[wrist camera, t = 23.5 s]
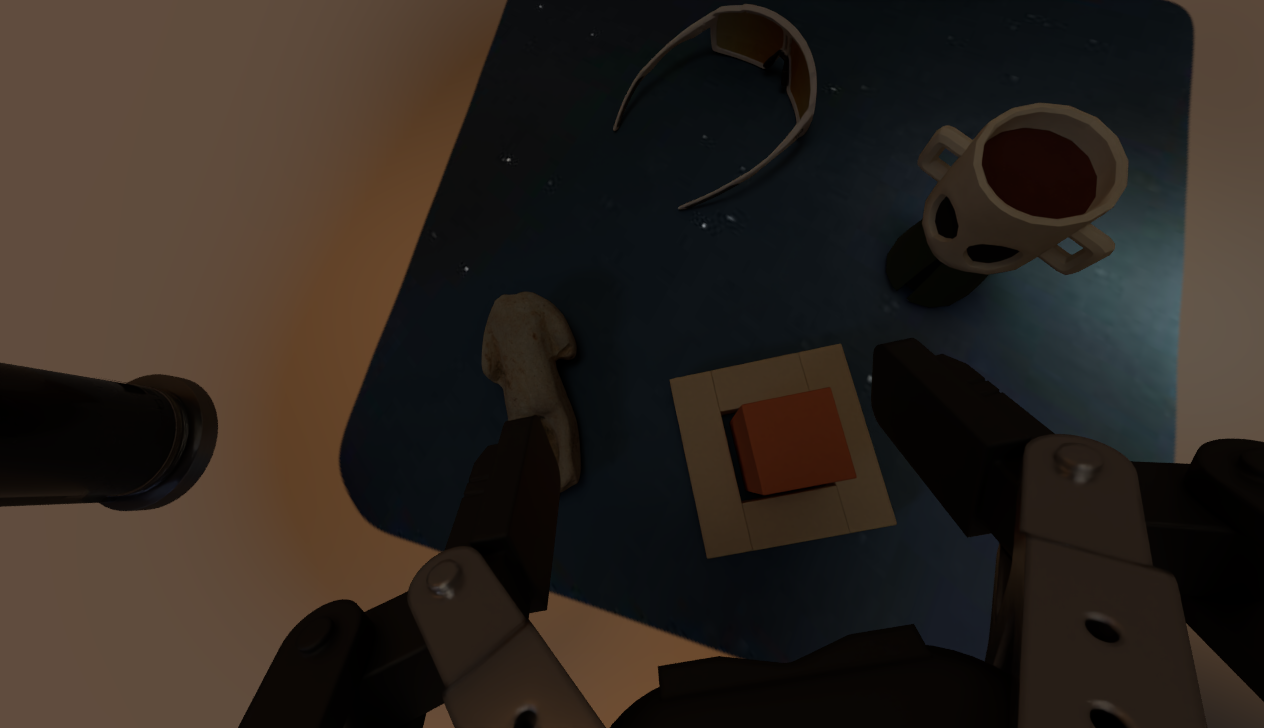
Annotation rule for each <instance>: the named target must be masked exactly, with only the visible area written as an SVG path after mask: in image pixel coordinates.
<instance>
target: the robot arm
mask: <svg viewBox="0 0 1264 728" xmlns="http://www.w3.org/2000/svg"><path fill="white" fill-rule="evenodd" d="M135 385H136V384H134V385H130V383H129V384H124V383H118V382H112V381H106V380H100V379H95V378H89V377H83V376H77V375H70V374H65V373H58V372H53V371H47V370H40V369H34V368H29V367H23V366H17V365H11V364H5V363H0V507H1V506H26V505H49V504H74V503H100V502H113V501H115V500H116V499H117V498H118V497H120V496H132V495H138V494H141V493H144V492H146V491H148V490H150V489H152V488H154V487H155V486H157V485H158V484H160V483H161V482H162V481H163V480H164V479H165V478H166V477H167V476H168V475H169V474H170V473H171V472H172V471H173V469H174V468H175V467H176V465H177V464H178V462H179V460H180V458H181V456H182V454H183V452H184V449H185V446H186V443H187V438H188V429H189V427H188V417H187V413H186V410H185V408H184V406H183V404H182V402H181V401H180V400H179V399H178V398H177V397H176V396H175V395H174V394H173V393H171V392H169V391H167V390H164V389H161V388H155V387H149V386H141V385H140V386H135ZM871 402H872V408H873V412H874V415H875V418H876V420H877V422H878V424H879V425H880V427H881V428H882V429H883V430H884V432H885V433H886V434H887V436H888V437H889V438H890V439H891V441H892V442H893V443H894V444H895V446H896V447H897V448H898V450H899V451H900V452H901V453H902V455H903V456H904V457H905V459H906V460H907V461H908V462H909V464H910V465H911V466H912V467H913V469H914V470H915V471H916V473H917V474H918V475H919V476H920V478H921V479H922V480H923V481H924V483H925V484H926V485H927V487H928V488H929V489H930V490H931V492H932V493H933V494H934V496H935V497H936V498H937V499H938V501H939V502H940V503H941V504H942V506H943V507H944V508H945V510H946V511H947V512H948V513H949V515H950V516H951V517H952V519H953V520H954V521H955V522H956V524H957V525H958V526H959V527H960V529H961V530H962V531H963V533H964V534H965V535H966V536H967V537H973V536H978V535H984V534H990V533H992V534H993V536H994V537H995V538H996V539H997V540H998V541H999V547H998V551H997V556H996V567H995V579H994V590H993V601H992V612H991V623H990V633H989V641H988V647H987V652H986V657H985V662H984V661H982V660H980V659H977V658H975V657H973V656H970V655H967V654H963V653H960V652H957V651H954V650H950V649H945V648H940V647H936V646H929V645H925V643H924V641H923V639H922V638H921V636H920V634H919V632H918V631H917V629H916V627H915V625H914V624H911V625H905V626H899V627H892V628H886V629H880V630H874V631H868V632H862V633H856V634H850V635H847V636H845V637H843V638H841V639H839V640H837V641H835V642H833V643H831V644H829V645H827V646H825V647H823V648H821V649H819V650H817V651H814V652H812V653H810V654H808V655H806V656H804V657H802V658H800V659H798V660H796V661H793V662H790V663H777V662H768V661H758V660H749V659H740V658H730V657H721V656H718V657H711V658H706V659H699V660H694V661H687V662H681V663H675V664H669V665H664V666H658V673H659V685H660V687H658V688H656V689H654V690H652V691H651V692H649V693H647V694H646V695H644V696H643V697H641V698H640V699H638V700H637V701H635V702H634V703H633V704H632V705H631V706H630V707H629V708H628V709H626V710H625V711H624V712H623V713H622V714H621V715H620V716H619V718H618V719H617V720H616V721H615V722H614V723H613V724H612V725H611V727H610V728H1207V724H1206V719H1205V715H1204V709H1203V705H1202V699H1201V695H1200V690H1199V685H1198V680H1197V675H1196V670H1195V665H1194V660H1193V656H1192V651H1191V646H1190V641H1189V636H1188V631H1187V626H1186V623H1187V624H1188V625H1189V626H1190V627H1191V628H1192V629H1193V630H1194V631H1195V632H1196V633H1197V635H1199V637H1201V638H1202V640H1203V641H1204V642H1205V643H1206V644H1207V645H1208V646H1209V647H1210V648H1211V649H1212V650H1213V651H1214V652H1215V653H1216V654H1217V655H1218V656H1219V657H1220V658H1221V659H1222V660H1223V661H1224V662H1225V663H1226V664H1227V665H1228V666H1229V667H1230V668H1231V669H1232V670H1233V671H1234V672H1235V673H1236V674H1237V675H1238V676H1239V677H1240V678H1241V679H1242V680H1243V681H1244V682H1245V683H1246V684H1247V685H1248V686H1249V687H1250V688H1251V689H1252V690H1253V691H1254V692H1255V693H1256V694H1257V695H1258V696H1259V698H1261V699H1262V701H1264V442H1260V441H1254V440H1246V439H1218V440H1213V441H1210V442H1207V443H1205V444H1203V445H1202V446H1201V447H1200V448H1199V449H1198V450H1197V452H1196V454H1195V456H1194V458H1193V460H1192V462H1191V464H1180V463H1155V462H1133V461H1129V460H1128V459H1127V458H1126V457H1125V456H1124V455H1122V454H1121V453H1120V452H1118V451H1117V450H1115V449H1113V448H1111V447H1109V446H1107V445H1105V444H1103V443H1100V442H1098V441H1095V440H1092V439H1088V438H1085V437H1080V436H1075V435H1067V434H1054V433H1053V432H1052V431H1051V430H1049V429H1048V428H1047V427H1045V426H1044V425H1043V424H1042V423H1040V422H1039V421H1038V420H1037V419H1035V418H1034V417H1033V416H1032V415H1030V414H1029V413H1028V412H1027V411H1025V410H1024V409H1023V408H1022V407H1020V406H1019V405H1018V404H1017V403H1015V402H1014V401H1013V400H1012V399H1010V398H1009V397H1008V396H1007V395H1005V394H1004V393H1000V392H999V389H998V388H997V387H995V386H994V385H993V384H992V383H990V382H989V381H985V378H984V377H983V376H981V375H980V374H979V373H978V372H976V371H975V370H974V369H973V368H971V367H970V366H969V365H968V364H966V363H963V362H961V361H958V360H956V359H953V358H951V357H949V356H946V355H944V354H940V355H934V354H933V353H932V352H930V351H929V350H928V349H927V348H926V347H925V346H923V345H922V344H921V343H920V342H919V341H917V340H916V339H914V338H909V339H904V340H899V341H894V342H889V343H885V344H880V345H877V346H876V347H875V349H874V354H873V373H872V395H871ZM560 489H561V478H560V471H559V466H558V463H557V460H556V457H555V455H554V452H553V450H552V447H551V445H550V442H549V440H548V437H547V435H546V432H545V430H544V427H543V425H542V423H541V420H540V419H539V417H538V416H537V415H534V416H529V417H524V418H519V419H514V420H510V421H506V422H505V423H504V426H503V429H502V432H501V436H500V439H499V443H498V444H495V445H490V446H488V447H487V448H486V449H485V450H484V452H483V453H482V454H481V455H480V457H479V458H478V459H477V460H476V462H475V463H474V466H473V469H472V472H471V475H470V478H469V483H468V484H467V486H466V489H465V492H464V498H462V501H461V504H460V507H459V510H458V513H457V516H456V519H455V522H454V524H453V527H452V530H451V533H450V536H449V539H448V542H447V545H446V548H445V551H443V552H441V553H439V554H438V555H436V556H434V557H433V558H432V559H430V560H429V561H428V562H427V563H426V564H425V565H424V566H423V567H422V568H421V569H420V570H419V571H418V572H417V574H416V575H415V577H414V578H413V580H412V582H411V584H410V587H409V590H408V591H407V592H405V593H403V594H402V595H399V596H397V597H395V598H393V599H391V600H389V601H387V602H385V603H383V604H381V605H378V606H376V607H374V608H372V609H370V610H368V611H366V612H363V610H362V609H361V608H360V607H359V606H358V605H357V603H355V602H354V601H351V600H343V599H342V600H337V601H333V602H330V603H328V604H325V605H323V606H321V607H319V608H318V609H316V610H314V611H313V612H312V613H310V614H309V615H307V616H306V617H305V618H304V619H303V620H301V621H300V622H299V623H298V624H297V625H296V626H295V627H294V628H293V629H292V631H291V632H290V633H289V634H288V636H287V637H286V638H285V640H284V641H283V643H282V645H281V647H280V648H279V650H278V652H277V654H276V656H275V658H274V660H273V662H272V664H271V665H270V667H269V669H268V671H267V673H266V675H265V677H264V679H263V681H262V683H261V685H260V687H259V689H258V690H257V692H256V694H255V696H254V698H253V700H252V702H251V704H250V706H249V708H248V710H247V712H246V713H245V715H244V717H243V719H242V721H241V723H240V725H239V727H238V728H423V725H424V721H425V716H426V713H427V712H429V711H430V710H432V709H434V708H436V707H438V706H440V705H442V704H445V706H446V709H447V711H448V713H449V715H450V718H451V720H452V722H453V725H454V727H455V728H606V727H605V726H604V724H603V723H602V721H601V720H600V719H599V717H598V716H597V714H596V713H595V712H594V710H593V709H592V707H591V706H590V705H589V703H588V702H587V700H586V699H585V698H584V696H583V695H582V693H581V692H580V691H579V689H578V688H577V686H576V685H575V683H574V682H573V681H572V679H571V678H570V676H569V675H568V674H567V672H566V671H565V669H564V668H563V666H562V665H561V664H560V662H559V661H558V659H557V658H556V657H555V655H554V654H553V652H552V651H551V650H550V648H549V647H548V645H547V644H546V642H545V641H544V640H543V638H542V637H541V635H540V634H539V633H538V631H537V630H536V628H535V627H534V626H533V624H532V623H531V622H530V620H529V613H533V612H539V611H545V610H547V605H548V596H549V587H550V578H551V570H552V561H553V552H554V543H555V534H556V525H557V516H558V507H559V498H560Z"/></svg>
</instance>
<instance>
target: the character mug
mask: <svg viewBox="0 0 1264 728" xmlns="http://www.w3.org/2000/svg"><path fill="white" fill-rule="evenodd" d="M945 148H946V149H948V150H949V151H950V152H952V153H953V154H955V155H956V156H957V157H959V158H958V159H957V160H956V161H955V163H954V164H953V165H952V166H951V167H950V166H949V165H948V164H946V163H945V162H944V161H942V160H941V159H940V158H939V155H940V154H941V153H942V151H943V150H944V149H945ZM917 164H918V166H919V167H920V168H921V170H923V171H924V172H925V173H927V174H928V175H929V176H931V177H932V178H933V179H935V180H936V181H937V182H938V183H937V184H936V186H935V187H934V189H933V190H932V192H931V193H930V195H929V196H928V198H927V199H926V202H925V208H924V214H923V219H922V220H921V221H919V222H918V223H917V224H915V225H914V226H913V227H911V228H910V229H909V230H908V231H906V232H905V233H904V234H903V235H902V236H901V237H899V238H898V240H897V241H896V243H895V244H894V246H893V247H892V248H891V250H890V251H889V253H888V254H887V268H886V272H887V275H888V277H889V279H890V282H891V284H892V286H893V288H894V289H896V290H898V289H899V288H901V287H902V286H903V285H904V284H906V283H907V285H908V286H909V288H911V289H914V290H915V291H914V292H913V293H912V294H911V295H910V296H909V297H908V298H907V300H909V301H910V302H912V303H916V304H919V305H923V306H926V307H938V306H948V305H951V304H953V303H954V302H956V301H958V300H960V299H961V298H963V297H965V296H967V295H968V294H969V293H970V292H971V291H973V290H974V289H975V288H976V287H977V286H978V285H979V284H980V283H981V282H982V281H983V280H984V279H985V278H986V277H987V276H988V275H989V274H995V273H1001V272H1007V271H1012V270H1016V269H1017V268H1019V267H1021V266H1023V265H1024V264H1026V263H1028V262H1030V261H1031V260H1033V259H1035V258H1036V257H1039V258H1040V259H1042V260H1043V261H1044V262H1046V263H1047V264H1048V265H1050V266H1051V267H1052V268H1054V269H1055V270H1056V271H1058V272H1060V273H1062V274H1064V275H1068V274H1073V273H1076V272H1079V271H1081V270H1083V269H1085V268H1086V267H1088V266H1090V265H1092V264H1094V263H1096V262H1098V261H1100V260H1101V259H1103V258H1105V257H1107V256H1109V255H1110V254H1111V253H1112V252H1113V251H1114V249H1115V243H1114V242H1113V241H1112V239H1111V238H1110V237H1109V236H1107V235H1106V234H1104V233H1103V232H1102V231H1100V230H1099V229H1097V228H1096V227H1095V226H1093V225H1092V224H1090V223H1091V222H1093V221H1094V220H1096V219H1097V218H1099V217H1100V216H1102V215H1103V214H1105V213H1106V212H1108V211H1109V210H1110V209H1111V208H1113V207H1114V205H1115V204H1116V202H1117V200H1118V199H1119V197H1120V196H1121V194H1122V192H1123V191H1124V189H1125V188H1126V186H1127V176H1128V159H1127V157H1126V154H1125V152H1124V150H1123V148H1122V145H1121V143H1120V141H1119V139H1118V137H1117V136H1116V135H1115V134H1114V133H1113V132H1112V131H1111V130H1110V129H1109V128H1108V127H1107V126H1105V125H1104V124H1103V123H1102V122H1101V121H1100V120H1099V119H1098V118H1097V117H1094V116H1092V115H1090V114H1087V113H1085V112H1083V111H1080V110H1078V109H1076V108H1073V107H1071V106H1066V105H1056V104H1047V103H1036V104H1031V105H1026V106H1021V107H1016V108H1012V109H1010V110H1008V111H1007V112H1005V113H1003V114H1002V115H1000V116H998V117H997V118H995V119H993V120H992V121H990V122H989V123H988V124H987V125H986V126H985V127H984V128H983V129H982V130H981V131H980V132H979V134H978V135H977V136H976V137H975V138H974V140H972V139H970V138H969V137H967V136H966V135H965V134H963V133H962V132H960V131H959V130H957V129H956V128H954V127H951V126H943V127H942V128H940V129H939V130H937V131H936V132H935V134H934V135H933V137H932V138H931V140H930V141H929V142H928V144H927V145H926V147H925V148H924V149H923V151H922V152H921V154H920V156H919V159H918V163H917ZM1067 237H1069V238H1071V239H1072V240H1073V241H1075V242H1076V243H1077V244H1079V245H1080V246H1082V247H1083V249H1082V250H1080V251H1078V252H1077V253H1075V254H1073V255H1071V254H1069V253H1068V252H1066V251H1065V250H1064V249H1062V248H1061V247H1059V246H1058V245H1057V244H1058V243H1060V242H1061V241H1063V240H1064V239H1066V238H1067Z"/></svg>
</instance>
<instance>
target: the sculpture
mask: <svg viewBox="0 0 1264 728" xmlns="http://www.w3.org/2000/svg"><path fill="white" fill-rule="evenodd" d="M576 352H577V345H576V341H575V338H574V336H573V334H572V331H571V329H570V327H569V325H568V323H567V320H566V319H565V317H564V315H563V314H562V313H561V312H560V311H559V310H558V309H557V308H556V307H555V305H553V304H552V303H551V302H550V301H548V300H546V299H545V298H543V297H541V296H539V295H537V294H535V293H532V292H521V293H518V294H516V295H506V294H505V295H502V296H500V297H499V298H498V299H497V300H496V301H495V303H494V305H493V307H492V309H491V312H490V315H489V317H488V321H487V325H486V328H485V331H484V338H483V347H482V369H483V373H484V374H485V375H486V376H487V378H489V379H490V380H491V381H493V382H494V383H498V384H499V385H500V386H501V387H502V388H503V391H504V397H505V404H506V409H507V414H508V420H509V421H510V420H514V419H519V418H524V417H529V416H534V415H537V416H538V417H539V419H540V420H541V423H542V425H543V427H544V430H545V432H546V435H547V437H548V440H549V442H550V445H551V447H552V450H553V452H554V455H555V457H556V460H557V463H558V466H559V471H560V478H561V489H560V492H563V491H565V490H567V489H568V488H569V487H571V486H573V485H575V484H576V483H578V481H579V478H580V473H581V456H580V441H579V432H578V426H577V421H576V417H575V414H574V411H573V409H572V406H571V403H570V401H569V398H568V396H567V394H566V391H565V388H564V386H563V383H562V381H561V378H560V376H559V373H558V371H557V367H556V361H557V360H558V359H564V360H570V359H573V358H574V357H575V356H576Z"/></svg>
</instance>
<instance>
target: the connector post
mask: <svg viewBox="0 0 1264 728" xmlns="http://www.w3.org/2000/svg"><path fill="white" fill-rule="evenodd" d="M729 424H730V428H731V432H732V437H733V441H734V445H735V449H736V454H737V458H738V462H739V466H740V471H741V475H742V479H743V483H744V488H745V491H749V492H753V493H757V494H761V495H769V494H774V493H780V492H785V491H790V490H796V489H801V488H807V487H812V486H817V485H823V484H828V483H833V482H839V481H844V480H850V479H855V478H857V475H856V472H855V469H854V465H853V462H852V458H851V455H850V451H849V448H848V445H847V441H846V438H845V434H844V431H843V428H842V424H841V421H840V417H839V414H838V411H837V407H836V404H835V400H834V397H833V394H832V390H831V388H830V387H827V388H822V389H817V390H812V391H807V392H802V393H797V394H792V395H787V396H782V397H777V398H772V399H767V400H762V401H757V402H752V403H747V404H742V405H741V406H740V408H739V409H738V411H737V412H736V414H735V415H734V417H733V418H732V420H731V421H730V423H729Z"/></svg>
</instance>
